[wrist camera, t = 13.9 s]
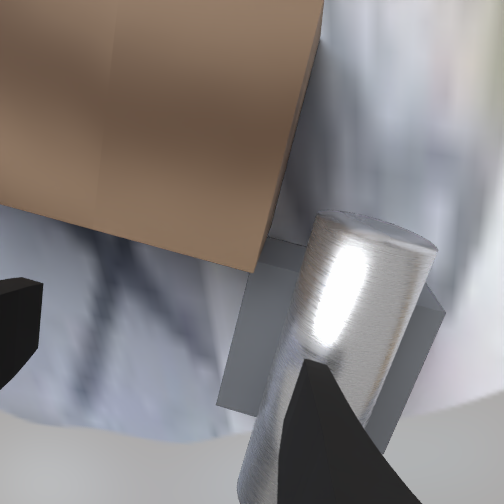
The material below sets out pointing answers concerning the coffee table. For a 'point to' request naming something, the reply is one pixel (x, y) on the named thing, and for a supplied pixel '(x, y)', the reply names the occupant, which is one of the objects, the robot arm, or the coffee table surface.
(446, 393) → the coffee table surface
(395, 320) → the axle
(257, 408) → the v block
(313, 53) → the brown notched block
